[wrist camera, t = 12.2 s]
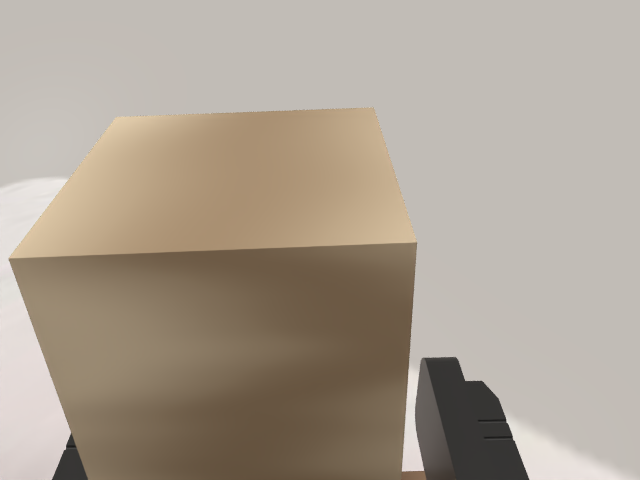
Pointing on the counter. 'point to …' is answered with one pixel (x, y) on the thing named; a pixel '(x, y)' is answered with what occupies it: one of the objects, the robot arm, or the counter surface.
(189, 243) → the beige wooden post
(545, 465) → the counter surface
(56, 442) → the counter surface
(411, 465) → the counter surface
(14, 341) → the counter surface
